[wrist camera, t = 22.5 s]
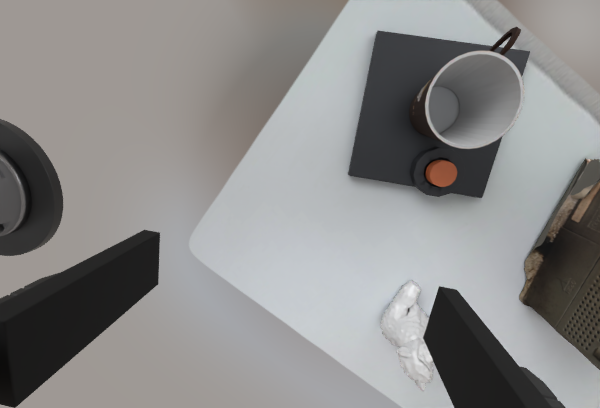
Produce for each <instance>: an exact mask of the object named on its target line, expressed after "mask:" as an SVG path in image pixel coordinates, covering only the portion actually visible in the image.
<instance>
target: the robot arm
mask: <svg viewBox="0 0 600 408" xmlns="http://www.w3.org/2000/svg"><path fill="white" fill-rule="evenodd" d="M31 205H32V198H31V192H30V188H29V184H28V182H27V179H26V177H25V175H24V174H23V172H22V170H21V169H20V167H19V166H18V165H17V163H16V162H15V161H14V160H13V159H12V158H11V157H10V156H9V155H8V154H6V153H5V152H4V151H2V150H1V149H0V236H3V235H6V234H10V233H13V232H15V231H17V230H19V229H20V228H21V227H22V226H23V225H24V224H25V223H26V221H27V220H28V218H29V215H30V212H31ZM159 242H160V233H157V232H153V231H147V230H143V231H141V232H140V233H138V234H136V235H134V236H132V237H130V238H128V239H126V240H124V241H122V242H120V243H118V244H116V245H114V246H112V247H110V248H108V249H106V250H104V251H103V252H100V253H98V254H97V255H94V256H93V257H91V258H89V259H87V260H85V261H83V262H81V263H79V264H77V265H75V266H73V267H71V268H69V269H67V270H65V271H63V272H61V273H58V274H54V275H51V276H48V277H44V278H41V279H39V280H37V281H35V282H33V283H31V284H29V285H27V286H25V287H24V288H21V289H19V290H17V291H15V292H13V293H11V294H10V295H7V296H5V297H3V298H0V404H1V405H5V406H9V407H14V408H15V407H16V406H18V405H19V404H20V403H21V402H22V401H23V400H24V399H26V398H27V397H28V396H29V395H30V394H31V393H33V392H34V391H35V390H36V389H37V388H38V387H40V386H41V385H42V384H43V383H44V382H45V381H46V380H48V379H49V378H50V377H51V376H52V375H54V374H55V373H56V372H57V371H58V370H59V369H60V368H62V367H63V366H64V365H65V364H66V363H67V362H69V361H70V360H71V359H72V358H73V357H74V356H75V355H76V354H78V353H79V352H80V351H81V350H82V349H84V348H85V347H86V346H87V345H88V344H89V343H91V342H92V341H93V340H94V339H95V338H96V337H97V336H99V335H100V334H101V333H102V332H103V331H104V330H106V328H108V327H109V326H110V325H111V324H113V323H114V322H115V321H116V320H117V319H118V318H119V317H121V316H122V315H123V314H124V313H125V312H126V311H128V310H129V309H130V308H131V307H132V306H133V305H134V304H136V303H137V302H138V301H139V300H140V299H141V298H142V297H144V296H145V295H146V294H147V293H148V292H150V290H152V289H153V288H154V287H155V286H156V285H158V272H159V271H158V270H159ZM423 339H424V342H425V344H426V346H427V348H428V350H429V353H430V355H431V357H432V359H433V361H434V364H435V366H436V368H437V370H438V372H439V375H440V377H441V379H442V381H443V383H444V386H445V388H446V390H447V392H448V394H449V397H450V399H451V401H452V403H453V405H454V408H565V407H564V405H563V404H562V403H561V402H560V401H558V400H557V397H556V396H555V395H554V394H553V393H552V391H551V390H550V389H549V388H548V387H547V386H546V384H545V383H544V382H543V381H541V380H540V379H539V378H538V377H536V376H535V375H534V374H533V373H532V372H530V371H529V370H528V369H527V368H524V367H519V366H518V365H517V363H516V362H515V361H514V360H513V358H512V357H511V356H510V355H509V354H508V352H507V351H506V350H505V349H504V347H503V346H502V345H501V344H500V342H499V341H498V340H497V339H496V338H495V336H494V335H493V334H492V333H491V331H490V330H489V329H488V328H487V326H486V325H485V324H484V323H483V322H482V320H481V319H480V318H479V317H478V315H477V314H476V313H475V312H474V310H473V309H472V308H471V307H470V306H469V304H468V303H467V302H466V301H465V299H464V298H463V297H462V296H461V294H460V293H459V292H458V291H457V290H455V289H450V288H445V287H439V289H438V292H437V295H436V298H435V302H434V305H433V308H432V311H431V314H430V317H429V321H428V324H427V327H426V330H425V333H424V336H423Z"/></svg>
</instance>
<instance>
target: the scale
mask: <svg viewBox="0 0 600 408" xmlns="http://www.w3.org/2000/svg"><path fill="white" fill-rule="evenodd" d="M492 47H493V46H486V45H479V44H472V43H464V42H457V41H450V40H442V39H435V38H428V37H420V36H413V35H406V34H398V33H391V32H384V31H377V34H376V38H375V43H374V48H373V53H372V58H371V63H370V68H369V73H368V78H367V83H366V87H365V92H364V97H363V102H362V107H361V112H360V117H359V122H358V127H357V132H356V137H355V142H354V147H353V152H352V157H351V162H350V167H349V172H348V175H350V176H356V177H362V178H367V179H373V180H379V181H385V182H391V183H397V184H403V185H408V186H414V187H417V188H418V189H419V190H420V191H422V192H423V193H425V194H426V195H432V196H437V197H439V196H443V195H446V194H449V193H455V194H461V195H467V196H473V197H479V198H482V196H483V193H484V190H485V187H486V184H487V181H488V178H489V175H490V172H491V169H492V166H493V163H494V160H495V157H496V154H497V151H498V148H499V145H500V142H501V139H502V137H500V138H499V139H498V140H496V141H494V142H492V143H490V144H488V145H486V146H482V147H479V148H472V149H462V148H457V147H453V146H450V145H447V144H445V143H442V142H440V141H438V140H435V139H433V138H430V137H428V136H425V135H423V134H421V133H419V132H418V131H417V130H416V129H415V128H414V127H413V126H412V124H411V121H410V117H409V109H410V105H411V102H412V100H413V98H414V97H415V96H416V94H417V93H418V92H419V91H420V90H421V89H422V88H423V87H424V86H425V85H426V84H427V83H428V82H429V81H430V80H431V79H432V78H433V77H434V76H435V75H436V74H437V73H438V71H439V70H440V69H441V68H443V67H444V66H445V65H446V64H447V63H448V62H449V61H451V60H453V59H454V58H456V57H458V56H460V55H463V54H465V53H468V52H473V51H489V50H490V49H491V48H492ZM502 49H503V48H501V47H498V48H497V49H496V50H495V51H494V52H495V53H500V52H501V50H502ZM529 54H530V51H523V50H515V49H509V50H508V51H507V52H506V53H505V55H504V56H505V57H506V58H508V59H509V60H510V61H511V62H512V63H514V65H515V66H516V68H517V69H518V70H519V72H520V74H521V77H522V75H523V72H524V69H525V66H526V63H527V60H528V57H529ZM435 160H444V161H449V162H451V163H453V164H454V165H455V167H456V169H457V177H456V179H455V181H454V182H453V183H452V184H450V185H449V186H446V187H439V186H436V185H434V184H432V183H430V182H429V181H428V180H427V178H426V174H425V173H426V169H427V167H428V165H429V164H430V163H431V162H433V161H435Z"/></svg>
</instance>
